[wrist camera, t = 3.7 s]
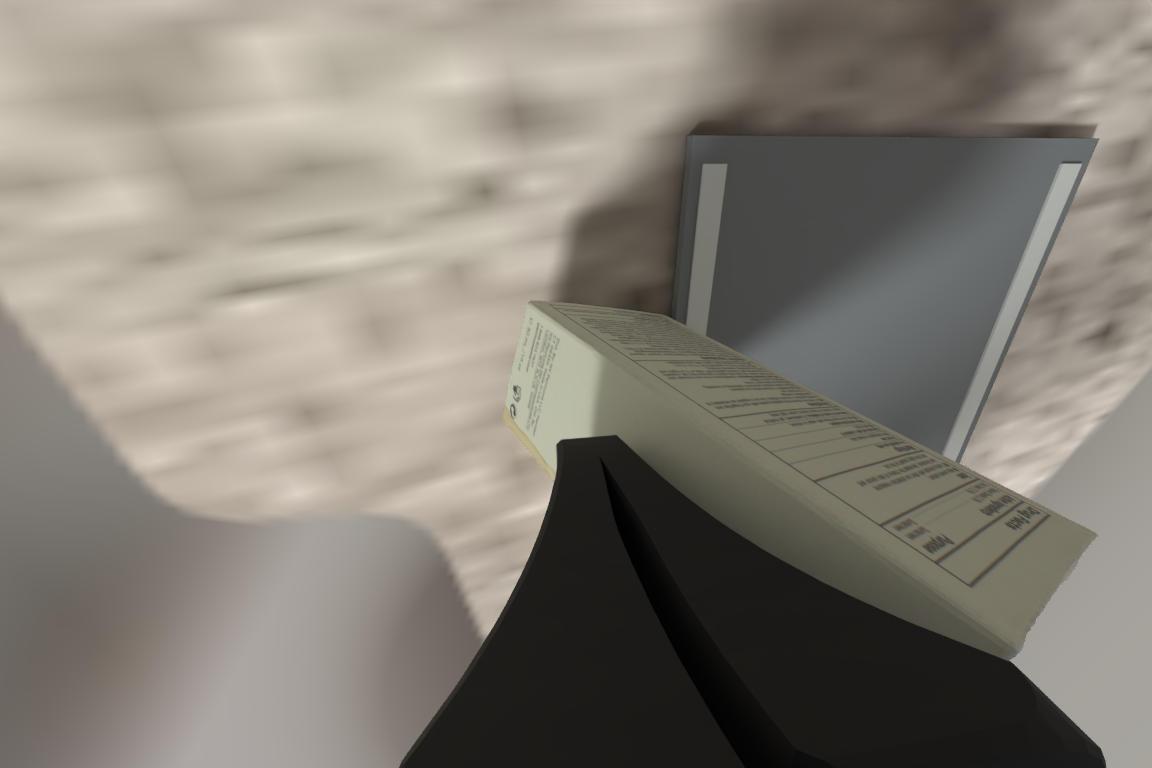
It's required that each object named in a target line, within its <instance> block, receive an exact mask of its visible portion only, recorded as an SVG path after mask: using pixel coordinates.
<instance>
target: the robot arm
mask: <svg viewBox="0 0 1152 768" xmlns="http://www.w3.org/2000/svg"><path fill="white" fill-rule="evenodd" d="M556 453H557V470H556V477H555V481H554V485H553V489H552V494H551V498H550V502H549V505H548V508H547V511H546V514H545V517H544V520H543V523H542V526H541V529H540V532H539V535H538V537H537V540H536V542H535V545H534V547H533V550H532V552H531V554H530V557H529V559H528V561H527V563H526V565H525V568H524V570H523V572H522V574H521V576H520V578H519V580H518V582H517V584H516V586H515V588H514V590H513V592H512V594H511V596H510V598H509V600H508V602H507V604H506V606H505V607H504V609H503V611H502V613H501V615H500V616H499V618H498V620H497V622H496V623H495V625H494V627H493V628H492V630H491V632H490V633H489V635H488V636H487V638H486V640H485V641H484V643H483V644H482V646H481V648H480V649H479V651H478V652H477V654H476V656H475V657H474V659H473V660H472V662H471V664H470V665H469V667H468V669H467V670H466V672H465V673H464V675H463V676H462V678H461V679H460V681H459V682H458V684H457V685H456V687H455V688H454V690H453V691H452V693H451V694H450V695H449V697H448V698H447V699H446V701H445V702H444V704H443V705H442V706H441V708H440V709H439V710H438V712H437V713H436V715H435V716H434V717H433V719H432V720H431V722H430V723H429V725H428V726H427V727H426V728H425V730H424V731H423V733H422V734H421V735H420V737H419V738H418V739H417V741H416V742H415V744H414V745H413V746H412V748H411V749H410V751H409V752H408V753H407V755H406V756H405V757H404V759H403V760H402V762H401V765H400V767H399V768H1106V762H1105V759H1104V756H1103V753H1102V751H1101V748H1100V747H1098V746H1097V745H1096V744H1095V743H1094V742H1093V741H1092V740H1091V739H1090V738H1089V737H1088V736H1087V735H1086V734H1085V733H1084V732H1083V731H1082V730H1081V729H1080V728H1079V727H1078V726H1077V725H1076V724H1075V723H1074V722H1073V721H1072V720H1071V719H1070V718H1069V717H1068V716H1067V715H1066V714H1065V713H1064V712H1063V711H1061V709H1059V708H1058V707H1057V706H1056V705H1055V704H1054V703H1053V702H1052V701H1051V700H1050V699H1049V698H1048V697H1047V696H1046V695H1045V694H1044V693H1043V692H1042V691H1041V690H1040V689H1039V688H1038V687H1037V686H1036V685H1035V684H1034V683H1033V682H1032V681H1031V680H1030V679H1029V678H1028V677H1026V675H1024V674H1023V673H1022V672H1021V671H1020V670H1019V669H1018V668H1017V667H1016V666H1015V665H1014V664H1013V663H1011V662H1010V661H1007V660H1005V659H1002V658H1000V657H997V656H995V655H992V654H989V653H987V652H984V651H982V650H979V649H977V648H974V647H972V646H969V645H966V644H964V643H961V642H959V641H956V640H954V639H951V638H949V637H946V636H943V635H941V634H938V633H936V632H933V631H931V630H928V629H926V628H923V627H920V626H918V625H915V624H913V623H911V622H908V621H906V620H903V619H901V618H899V617H897V616H894V615H892V614H890V613H888V612H886V611H883V610H881V609H879V608H877V607H874V606H872V605H870V604H868V603H866V602H863V601H861V600H859V599H857V598H855V597H852V596H850V595H848V594H846V593H844V592H842V591H840V590H838V589H836V588H834V587H832V586H830V585H828V584H826V583H824V582H822V581H820V580H818V579H816V578H814V577H812V576H811V575H809V574H807V573H805V572H803V571H801V570H799V569H797V568H796V567H794V566H792V565H790V564H788V563H786V562H784V561H783V560H781V559H779V558H777V557H776V556H774V555H772V554H770V553H769V552H767V551H765V550H763V549H762V548H760V547H759V546H757V545H755V544H754V543H752V542H751V541H749V540H748V539H746V538H744V537H743V536H741V535H740V534H738V533H736V532H735V531H733V530H732V529H730V528H729V527H727V526H726V525H724V524H723V523H721V522H720V521H718V520H717V519H716V518H714V517H713V516H711V515H710V514H709V513H707V512H706V511H705V510H703V509H702V508H701V507H699V506H698V505H697V504H695V503H694V502H693V501H691V500H690V499H689V498H687V497H686V496H685V495H684V494H682V493H681V492H680V491H679V490H677V489H676V488H675V487H674V486H673V485H671V484H670V483H669V482H668V481H667V480H665V479H664V478H663V477H662V476H661V475H660V474H658V473H657V472H656V471H655V470H654V469H653V468H652V467H651V466H650V465H648V464H647V463H646V462H645V461H644V460H643V459H642V458H641V457H640V456H639V455H638V454H636V453H635V452H634V451H633V450H632V449H631V448H630V447H629V446H628V445H627V444H626V443H625V442H624V441H622V440H621V439H620V438H619V437H618V436H617V435H610V436H597V437H585V438H573V439H561V440H560V441H559V442H558V443H557V444H556Z"/></svg>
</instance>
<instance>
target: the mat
mask: <svg viewBox="0 0 1152 768" xmlns="http://www.w3.org/2000/svg"><path fill="white" fill-rule="evenodd" d="M1098 140H1099V139H1095V138H970V137H846V136H721V135H692V136H687V147H686V158H685V169H684V180H683V191H682V202H681V213H680V224H679V235H678V246H677V257H676V268H675V279H674V290H673V301H672V312H671V318H672V319H674V320H676V321H678V322H680V323H682V324H684V325H686V326H688V327H690V328H692V329H694V330H695V331H697V332H699V333H701V334H703V335H705V336H707V337H709V338H711V339H713V340H715V341H717V342H719V343H721V344H723V345H725V346H727V347H729V348H731V349H733V350H735V351H737V352H739V353H741V354H743V355H745V356H747V357H749V358H751V359H753V360H755V361H757V362H759V363H761V364H763V365H765V366H767V367H769V368H771V369H773V370H775V371H777V372H779V373H781V374H783V375H785V376H786V377H788V378H790V379H792V380H794V381H796V382H798V383H800V384H802V385H804V386H806V387H808V388H810V389H812V390H814V391H816V392H818V393H820V394H822V395H824V396H826V397H828V398H830V399H832V400H834V401H836V402H838V403H840V404H842V405H844V406H846V407H848V408H850V409H852V410H854V411H855V412H857V413H859V414H861V415H863V416H865V417H867V418H869V419H871V420H873V421H875V422H877V423H879V424H881V425H883V426H885V427H887V428H889V429H891V430H893V431H895V432H897V433H899V434H901V435H903V436H905V437H907V438H909V439H911V440H913V441H915V442H917V443H919V444H921V445H923V446H925V447H927V448H929V449H931V450H933V451H935V452H937V453H939V454H941V455H943V456H945V457H947V458H949V459H951V460H953V461H955V462H957V463H959V462H960V460H961V458H962V456H963V453H964V451H965V449H966V446H967V444H968V442H969V439H970V437H971V435H972V432H973V430H974V428H975V425H976V423H977V421H978V418H979V416H980V414H981V411H982V409H983V407H984V405H985V402H986V400H987V398H988V395H989V393H990V391H991V388H992V386H993V384H994V381H995V379H996V377H997V374H998V372H999V370H1000V367H1001V365H1002V363H1003V361H1004V358H1005V356H1006V354H1007V351H1008V349H1009V347H1010V344H1011V342H1012V340H1013V337H1014V335H1015V333H1016V330H1017V328H1018V326H1019V323H1020V321H1021V319H1022V317H1023V314H1024V312H1025V310H1026V307H1027V305H1028V303H1029V300H1030V298H1031V296H1032V293H1033V291H1034V289H1035V286H1036V284H1037V282H1038V279H1039V277H1040V275H1041V273H1042V270H1043V268H1044V266H1045V263H1046V261H1047V259H1048V256H1049V254H1050V252H1051V249H1052V247H1053V245H1054V242H1055V240H1056V238H1057V235H1058V233H1059V231H1060V229H1061V226H1062V224H1063V222H1064V219H1065V217H1066V215H1067V212H1068V210H1069V208H1070V205H1071V203H1072V201H1073V198H1074V196H1075V194H1076V191H1077V189H1078V187H1079V185H1080V182H1081V180H1082V178H1083V175H1084V173H1085V171H1086V168H1087V166H1088V164H1089V161H1090V159H1091V157H1092V154H1093V152H1094V150H1095V147H1096V145H1097V143H1098Z"/></svg>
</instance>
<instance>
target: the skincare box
mask: <svg viewBox="0 0 1152 768" xmlns="http://www.w3.org/2000/svg"><path fill="white" fill-rule="evenodd" d="M503 420H504V422H505V423H506V425H507V426H508V427H509V428H510V429H511V430H512V431H513V433H514V434H515V435H516V436H517V438H518V439H519V440H520V441H521V443H522V444H523V445H524V446H525V447H526V449H527V450H528V451H529V452H530V453H531V455H532V456H533V457H534V458H535V460H536V461H537V462H538V463H539V465H540V466H541V467H542V468H543V469H544V471H545V472H546V473H547V474H548V475H549V477H550V478H551V479H552V480H553V482H554V481H555V477H556V470H557V453H556V444H557V443H558V442H559V441H560V440H561V439H573V438H585V437H597V436H610V435H617V436H618V437H619V438H620V439H621V440H622V441H624V442H625V443H626V444H627V445H628V446H629V447H630V448H631V449H632V450H633V451H634V452H635V453H636V454H638V455H639V456H640V457H641V458H642V459H643V460H644V461H645V462H646V463H647V464H648V465H650V466H651V467H652V468H653V469H654V470H655V471H656V472H657V473H658V474H660V475H661V476H662V477H663V478H664V479H665V480H667V481H668V482H669V483H670V484H671V485H673V486H674V487H675V488H676V489H677V490H679V491H680V492H681V493H682V494H684V495H685V496H686V497H687V498H689V499H690V500H691V501H693V502H694V503H695V504H697V505H698V506H699V507H701V508H702V509H703V510H705V511H706V512H707V513H709V514H710V515H711V516H713V517H714V518H716V519H717V520H718V521H720V522H721V523H723V524H724V525H726V526H727V527H729V528H730V529H732V530H733V531H735V532H736V533H738V534H740V535H741V536H743V537H744V538H746V539H748V540H749V541H751V542H752V543H754V544H755V545H757V546H759V547H760V548H762V549H763V550H765V551H767V552H769V553H770V554H772V555H774V556H776V557H777V558H779V559H781V560H783V561H784V562H786V563H788V564H790V565H792V566H794V567H796V568H797V569H799V570H801V571H803V572H805V573H807V574H809V575H811V576H812V577H814V578H816V579H818V580H820V581H822V582H824V583H826V584H828V585H830V586H832V587H834V588H836V589H838V590H840V591H842V592H844V593H846V594H848V595H850V596H852V597H855V598H857V599H859V600H861V601H863V602H866V603H868V604H870V605H872V606H874V607H877V608H879V609H881V610H883V611H886V612H888V613H890V614H892V615H894V616H897V617H899V618H901V619H903V620H906V621H908V622H911V623H913V624H915V625H918V626H920V627H923V628H926V629H928V630H931V631H933V632H936V633H938V634H941V635H943V636H946V637H949V638H951V639H954V640H956V641H959V642H961V643H964V644H966V645H969V646H972V647H974V648H977V649H979V650H982V651H984V652H987V653H989V654H992V655H995V656H997V657H1000V658H1002V659H1005V660H1007V661H1009V660H1010V659H1012V658H1014V657H1015V656H1016V655H1017V654H1018V653H1019V652H1020V651H1021V650H1022V648H1023V645H1024V641H1025V638H1026V635H1027V633H1028V632H1029V631H1030V630H1031V627H1032V626H1033V625H1034V624H1035V621H1036V619H1037V617H1038V616H1039V615H1040V614H1041V612H1042V611H1043V610H1044V608H1045V606H1046V604H1047V603H1048V601H1049V600H1050V599H1051V597H1052V596H1053V594H1054V593H1055V592H1056V591H1057V589H1058V588H1059V587H1060V585H1062V584H1063V583H1064V582H1065V581H1066V580H1067V579H1068V577H1069V576H1070V575H1071V573H1072V572H1073V570H1074V569H1075V567H1076V566H1077V564H1078V560H1079V559H1080V557H1081V556H1082V555H1083V554H1084V553H1085V552H1086V550H1087V549H1088V547H1089V545H1091V543H1092V542H1093V541H1094V540H1095V539H1096V538H1097V537H1098V534H1096V533H1094V532H1093V531H1091V530H1089V529H1087V528H1086V527H1084V526H1081V525H1079V524H1077V523H1075V522H1073V521H1071V520H1069V519H1067V518H1065V517H1063V516H1061V515H1059V514H1057V513H1055V512H1054V511H1052V510H1050V509H1048V508H1046V507H1044V506H1042V505H1040V504H1038V503H1036V502H1034V501H1032V500H1030V499H1028V498H1026V497H1024V496H1022V495H1020V494H1018V493H1016V492H1014V491H1012V490H1010V489H1008V488H1006V487H1004V486H1002V485H1000V484H998V483H996V482H994V481H992V480H990V479H988V478H986V477H984V476H982V475H980V474H978V473H976V472H974V471H972V470H970V469H969V468H967V467H965V466H963V465H961V464H959V463H957V462H955V461H953V460H951V459H949V458H947V457H945V456H943V455H941V454H939V453H937V452H935V451H933V450H931V449H929V448H927V447H925V446H923V445H921V444H919V443H917V442H915V441H913V440H911V439H909V438H907V437H905V436H903V435H901V434H899V433H897V432H895V431H893V430H891V429H889V428H887V427H885V426H883V425H881V424H879V423H877V422H875V421H873V420H871V419H869V418H867V417H865V416H863V415H861V414H859V413H857V412H855V411H854V410H852V409H850V408H848V407H846V406H844V405H842V404H840V403H838V402H836V401H834V400H832V399H830V398H828V397H826V396H824V395H822V394H820V393H818V392H816V391H814V390H812V389H810V388H808V387H806V386H804V385H802V384H800V383H798V382H796V381H794V380H792V379H790V378H788V377H786V376H785V375H783V374H781V373H779V372H777V371H775V370H773V369H771V368H769V367H767V366H765V365H763V364H761V363H759V362H757V361H755V360H753V359H751V358H749V357H747V356H745V355H743V354H741V353H739V352H737V351H735V350H733V349H731V348H729V347H727V346H725V345H723V344H721V343H719V342H717V341H715V340H713V339H711V338H709V337H707V336H705V335H703V334H701V333H699V332H697V331H695V330H694V329H692V328H690V327H688V326H686V325H684V324H682V323H680V322H678V321H676V320H674V319H672V318H670V317H668V316H666V315H662V314H656V313H649V312H642V311H635V310H626V309H618V308H610V307H600V306H592V305H583V304H572V303H562V302H548V301H530V302H528V304H527V306H526V310H525V315H524V320H523V323H522V328H521V332H520V336H519V340H518V344H517V349H516V354H515V358H514V362H513V367H512V371H511V376H510V380H509V385H508V390H507V395H506V401H505V406H504V411H503Z"/></svg>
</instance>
